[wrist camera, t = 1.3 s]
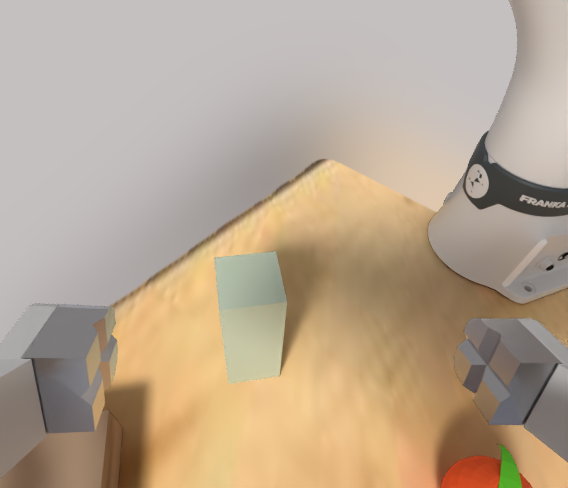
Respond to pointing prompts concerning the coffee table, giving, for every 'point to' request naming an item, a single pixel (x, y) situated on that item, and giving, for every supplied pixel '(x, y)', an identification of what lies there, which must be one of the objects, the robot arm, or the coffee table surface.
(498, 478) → the red tomato
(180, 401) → the coffee table surface
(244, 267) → the sage block
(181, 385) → the coffee table surface
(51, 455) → the walnut block
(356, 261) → the coffee table surface
